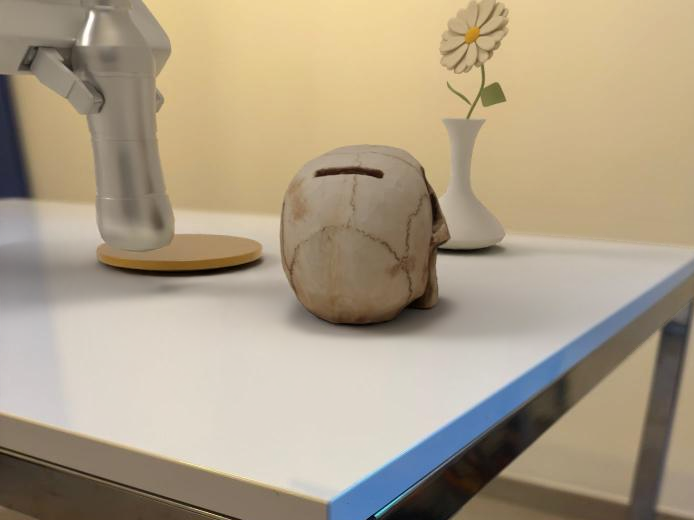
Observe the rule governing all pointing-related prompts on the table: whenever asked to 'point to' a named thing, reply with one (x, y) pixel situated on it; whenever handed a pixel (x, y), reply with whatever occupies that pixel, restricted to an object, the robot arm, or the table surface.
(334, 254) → the coin bank
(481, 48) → the flower in vase
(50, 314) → the table surface
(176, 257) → the plate
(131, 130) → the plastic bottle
